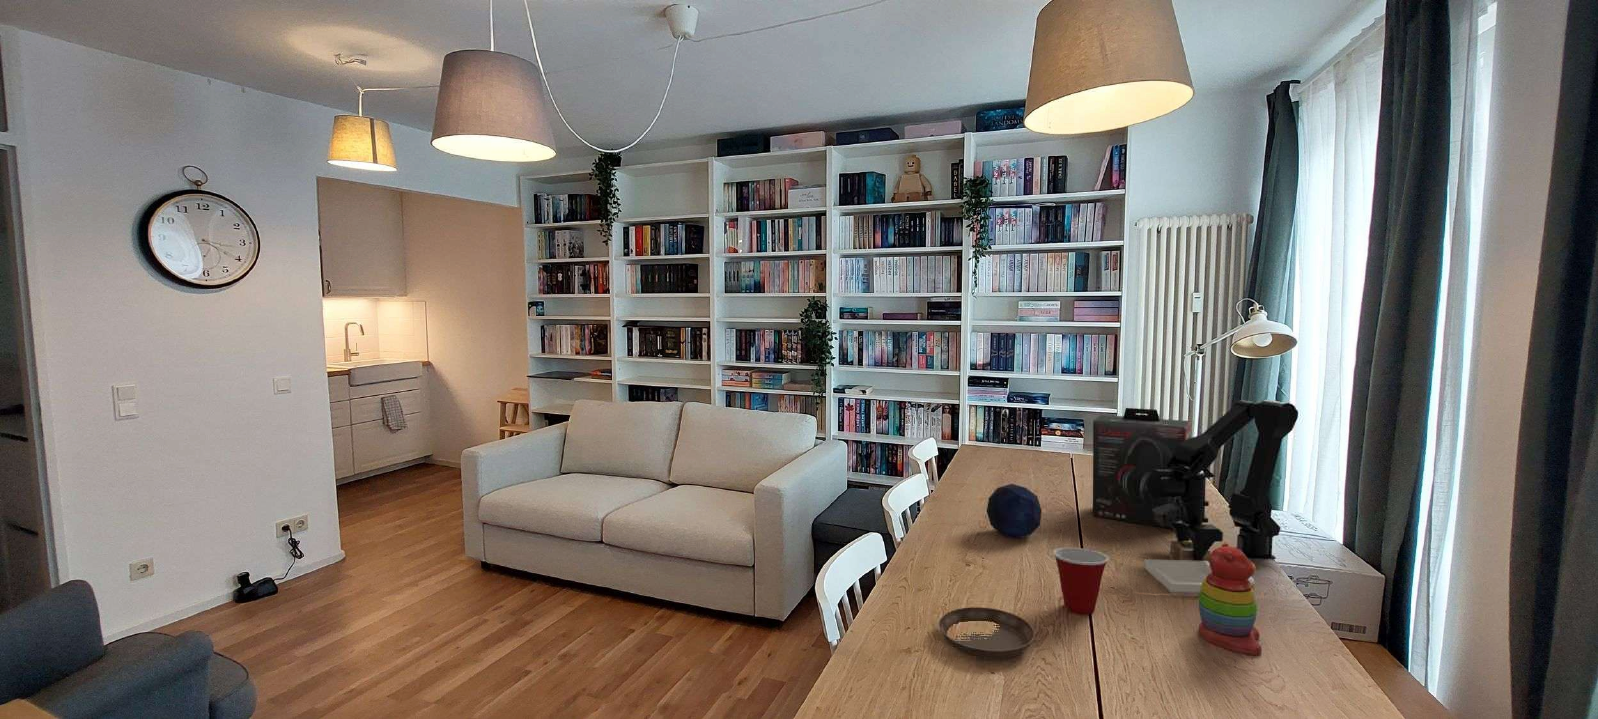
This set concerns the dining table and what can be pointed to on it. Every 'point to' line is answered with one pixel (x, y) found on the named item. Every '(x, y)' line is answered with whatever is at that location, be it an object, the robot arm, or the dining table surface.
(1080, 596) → the plastic cup
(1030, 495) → the decorative orb
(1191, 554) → the brown hollow block
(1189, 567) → the tray
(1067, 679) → the dining table surface
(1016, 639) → the plant saucer
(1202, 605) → the stacking bear
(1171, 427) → the headset box
